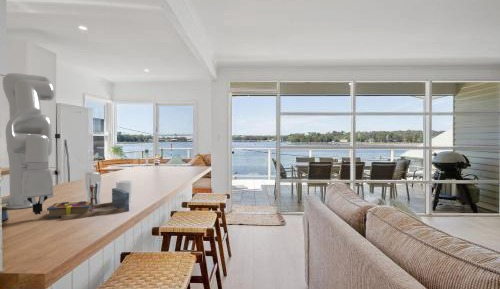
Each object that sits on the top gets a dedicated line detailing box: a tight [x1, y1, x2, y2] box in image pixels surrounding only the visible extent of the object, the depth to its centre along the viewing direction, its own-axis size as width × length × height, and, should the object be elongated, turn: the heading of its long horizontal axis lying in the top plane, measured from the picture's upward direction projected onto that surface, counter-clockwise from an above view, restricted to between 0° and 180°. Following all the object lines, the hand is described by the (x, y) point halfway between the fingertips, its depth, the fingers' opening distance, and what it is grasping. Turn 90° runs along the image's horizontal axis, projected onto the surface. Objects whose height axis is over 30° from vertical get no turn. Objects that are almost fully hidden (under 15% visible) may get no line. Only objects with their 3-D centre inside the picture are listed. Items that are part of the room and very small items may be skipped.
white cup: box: [115, 180, 134, 203], centre depth 166 cm, size 8×8×10 cm
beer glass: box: [84, 171, 102, 205], centre depth 158 cm, size 7×7×15 cm
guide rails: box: [61, 187, 130, 221], centre depth 143 cm, size 26×16×8 cm, turn 131°
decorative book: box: [46, 200, 95, 220], centre depth 138 cm, size 11×16×5 cm
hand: (37, 213), depth 130 cm, fingers closed
